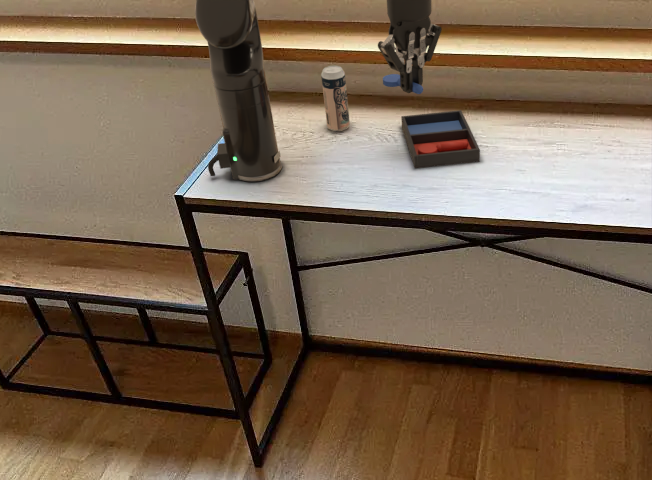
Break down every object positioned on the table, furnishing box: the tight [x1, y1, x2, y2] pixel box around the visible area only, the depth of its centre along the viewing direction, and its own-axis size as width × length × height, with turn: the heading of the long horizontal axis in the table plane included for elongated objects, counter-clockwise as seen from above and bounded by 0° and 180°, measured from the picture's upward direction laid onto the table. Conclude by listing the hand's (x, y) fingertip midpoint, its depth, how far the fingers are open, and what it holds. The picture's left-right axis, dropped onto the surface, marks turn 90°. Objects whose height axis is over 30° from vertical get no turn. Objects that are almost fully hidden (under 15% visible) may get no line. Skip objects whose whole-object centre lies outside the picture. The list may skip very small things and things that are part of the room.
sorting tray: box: [400, 109, 481, 169], centre depth 140 cm, size 13×18×2 cm
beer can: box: [320, 65, 351, 132], centre depth 144 cm, size 5×5×12 cm
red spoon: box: [418, 141, 468, 155], centre depth 137 cm, size 10×4×2 cm, turn 98°
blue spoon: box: [382, 73, 424, 95], centre depth 129 cm, size 10×4×2 cm, turn 41°
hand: (412, 89), depth 129 cm, fingers closed on blue spoon, 1 cm apart
